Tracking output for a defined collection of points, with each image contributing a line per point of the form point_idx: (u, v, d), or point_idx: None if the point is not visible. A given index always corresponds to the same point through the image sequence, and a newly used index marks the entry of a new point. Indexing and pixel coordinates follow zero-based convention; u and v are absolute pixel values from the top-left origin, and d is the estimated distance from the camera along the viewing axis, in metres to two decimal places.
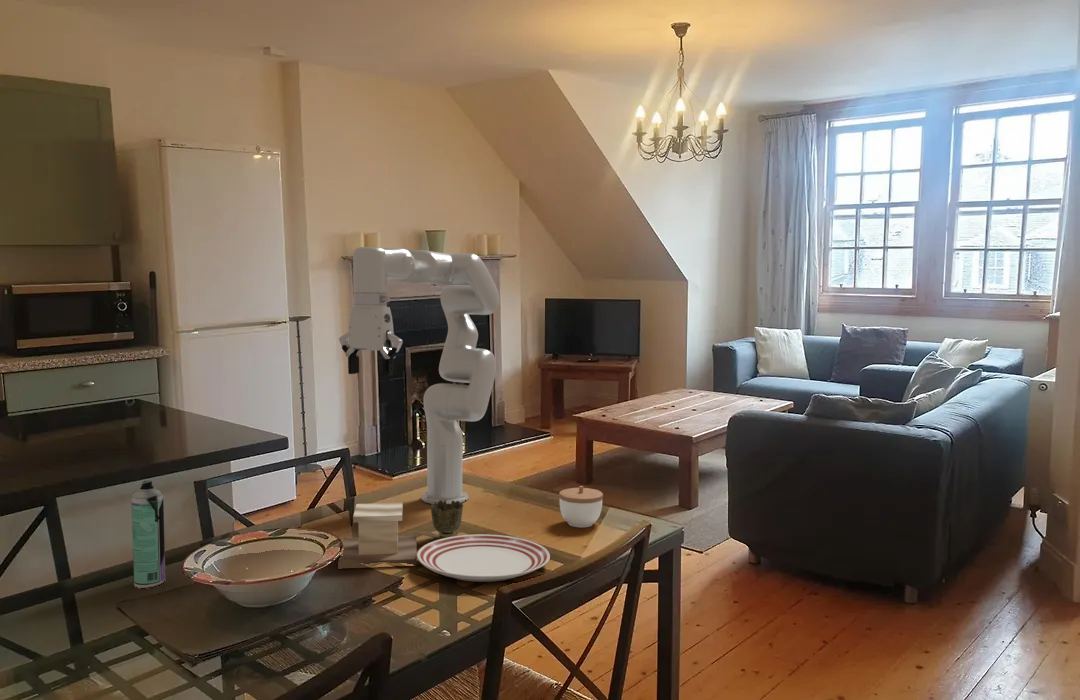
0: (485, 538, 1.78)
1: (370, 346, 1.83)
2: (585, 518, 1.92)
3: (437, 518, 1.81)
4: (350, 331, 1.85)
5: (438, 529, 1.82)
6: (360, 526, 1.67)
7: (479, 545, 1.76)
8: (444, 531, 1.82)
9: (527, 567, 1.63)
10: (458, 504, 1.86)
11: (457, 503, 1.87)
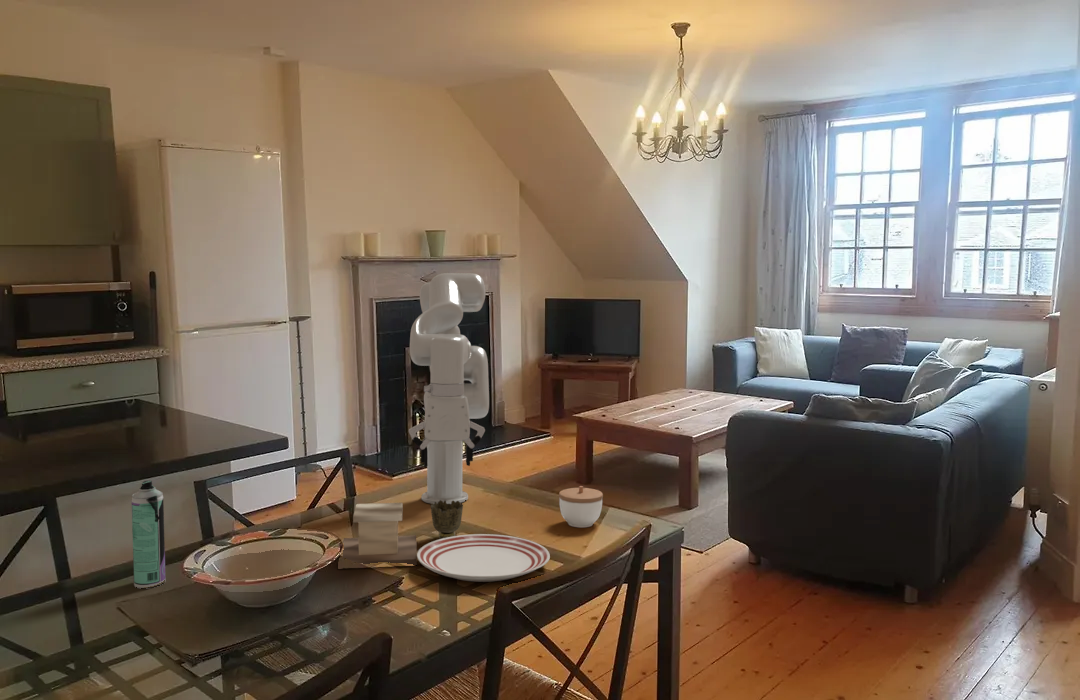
0: (485, 538, 1.78)
1: None
2: (585, 517, 1.92)
3: (437, 518, 1.81)
4: None
5: (438, 529, 1.82)
6: (360, 526, 1.67)
7: (479, 545, 1.76)
8: (444, 531, 1.82)
9: (527, 567, 1.63)
10: (458, 504, 1.86)
11: (457, 503, 1.87)
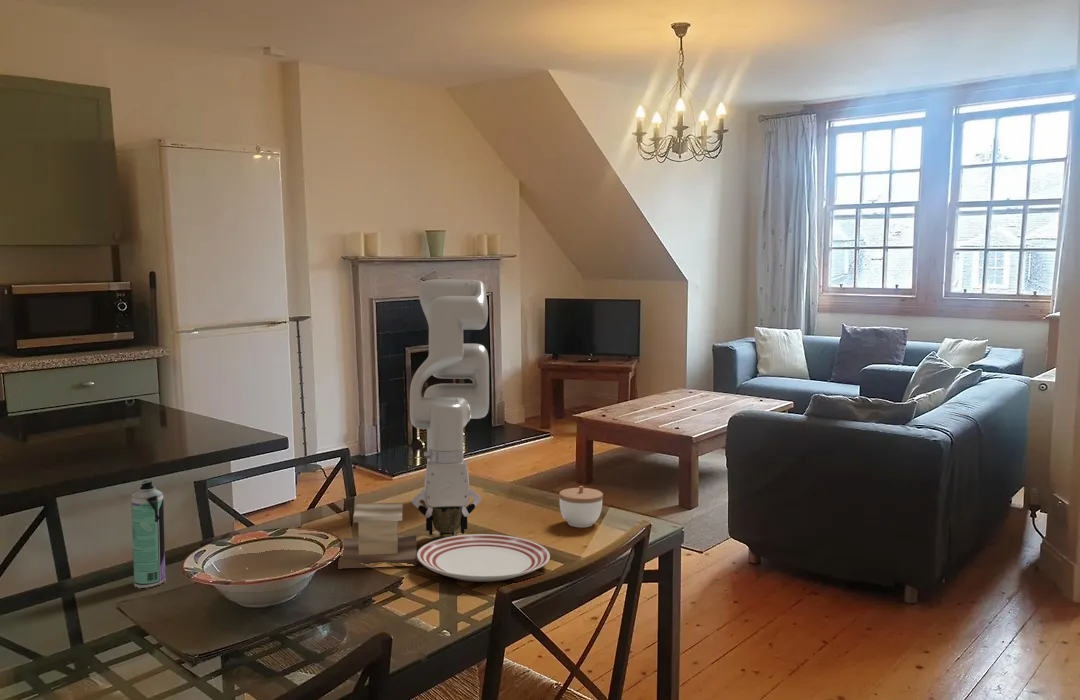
0: (485, 538, 1.78)
1: None
2: (585, 517, 1.92)
3: (437, 518, 1.81)
4: None
5: (438, 529, 1.82)
6: (360, 526, 1.67)
7: (479, 545, 1.76)
8: (444, 531, 1.82)
9: (527, 567, 1.63)
10: None
11: None
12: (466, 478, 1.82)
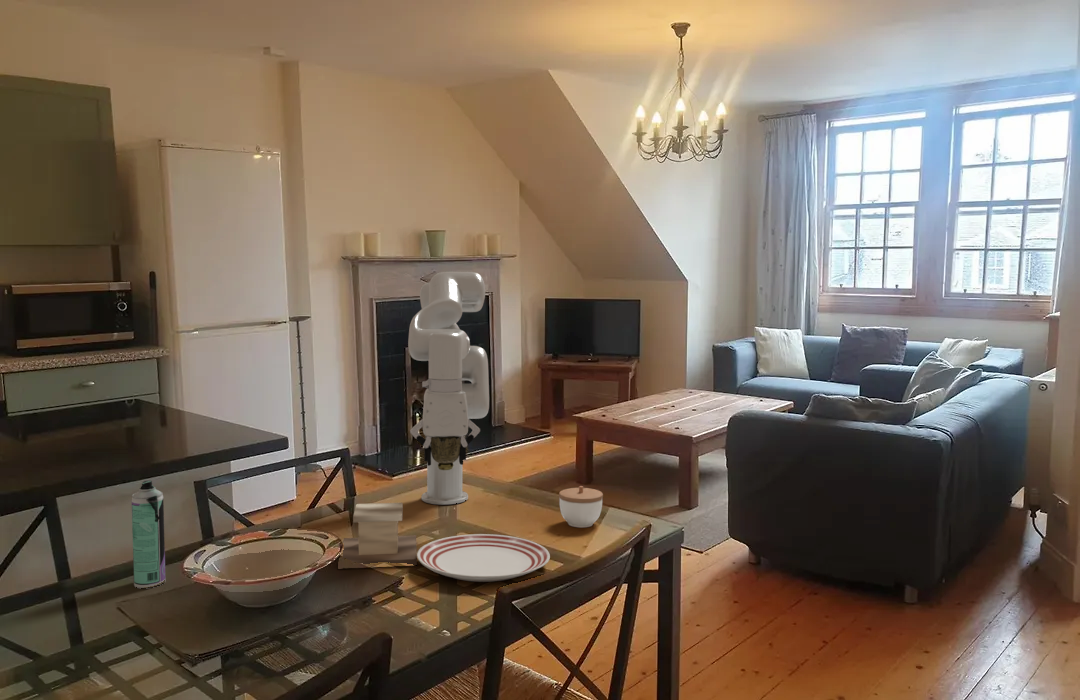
0: (484, 538, 1.78)
1: None
2: (585, 517, 1.92)
3: (436, 448, 1.80)
4: None
5: (437, 459, 1.80)
6: (360, 526, 1.67)
7: (479, 545, 1.76)
8: (443, 461, 1.80)
9: (527, 567, 1.63)
10: None
11: None
12: (465, 408, 1.80)
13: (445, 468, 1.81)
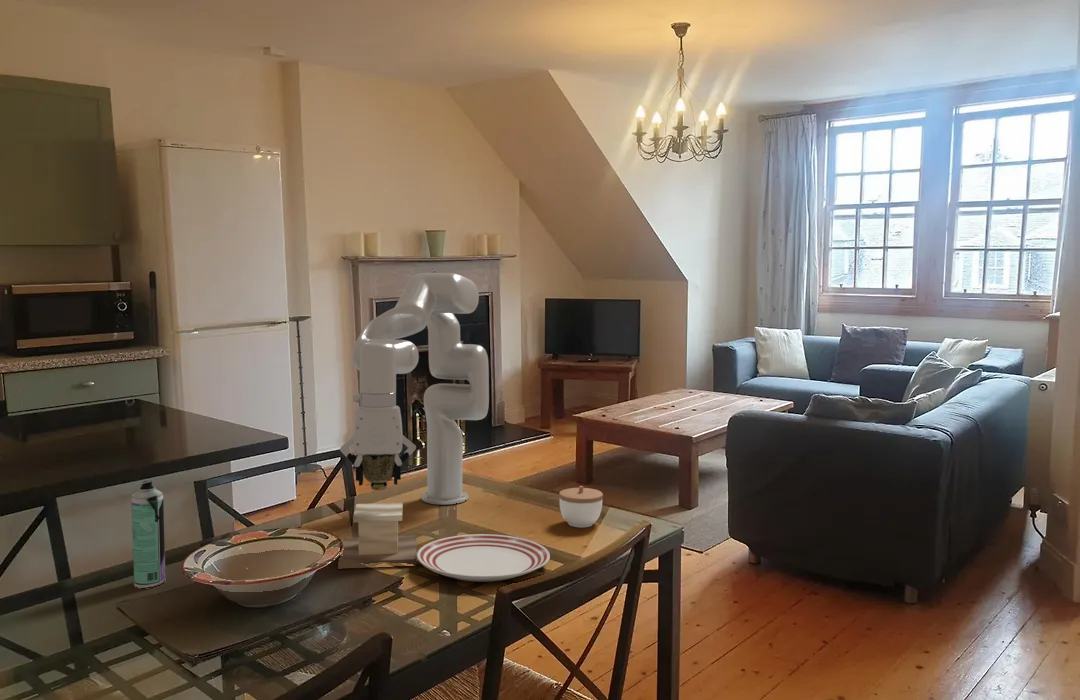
0: (484, 538, 1.78)
1: None
2: (585, 517, 1.92)
3: (367, 467, 1.68)
4: None
5: (368, 479, 1.69)
6: (360, 526, 1.67)
7: (479, 545, 1.76)
8: (375, 481, 1.68)
9: (527, 567, 1.63)
10: None
11: None
12: (398, 424, 1.68)
13: (378, 488, 1.69)
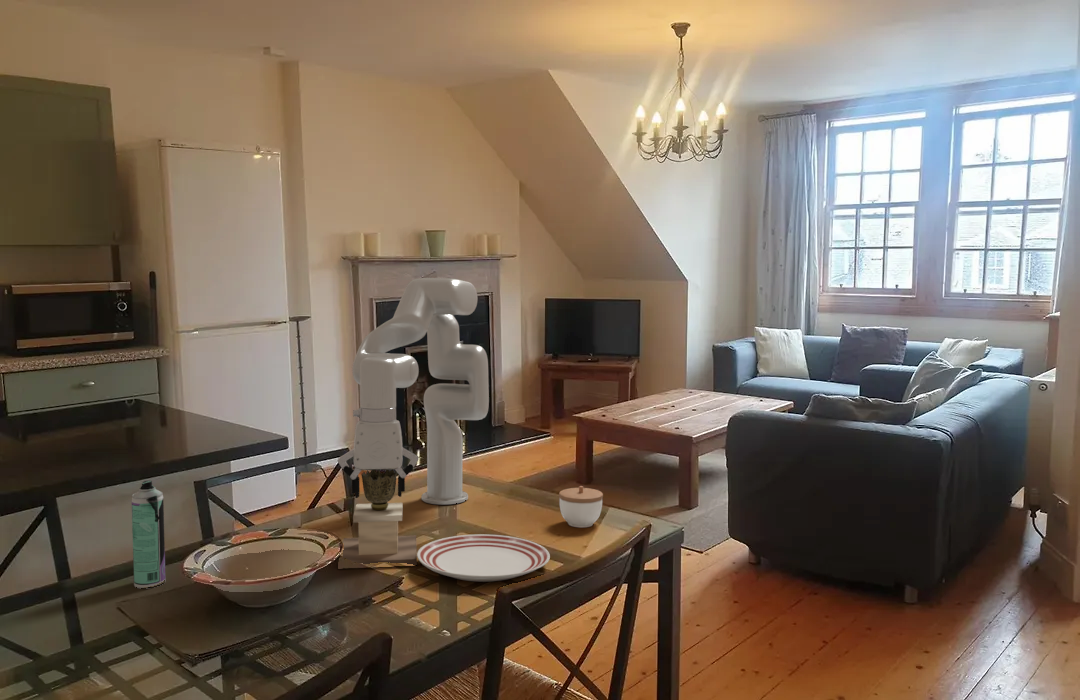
0: (484, 538, 1.78)
1: None
2: (585, 517, 1.92)
3: (368, 487, 1.68)
4: None
5: (369, 499, 1.69)
6: (360, 526, 1.67)
7: (479, 545, 1.76)
8: (376, 501, 1.69)
9: (527, 567, 1.63)
10: (392, 473, 1.74)
11: (391, 472, 1.74)
12: (398, 438, 1.69)
13: (378, 508, 1.70)
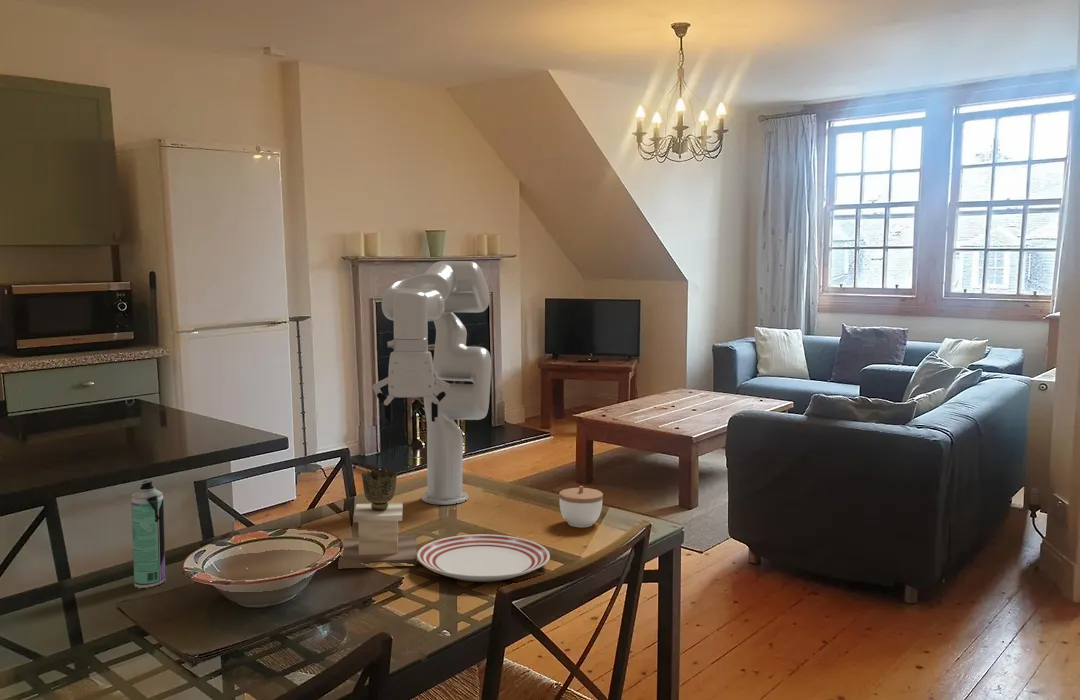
0: (484, 538, 1.78)
1: None
2: (585, 518, 1.92)
3: (368, 487, 1.68)
4: None
5: (369, 499, 1.69)
6: (360, 526, 1.67)
7: (479, 545, 1.76)
8: (376, 501, 1.69)
9: (527, 566, 1.63)
10: (392, 473, 1.74)
11: (391, 472, 1.74)
12: (430, 368, 1.79)
13: (378, 508, 1.70)
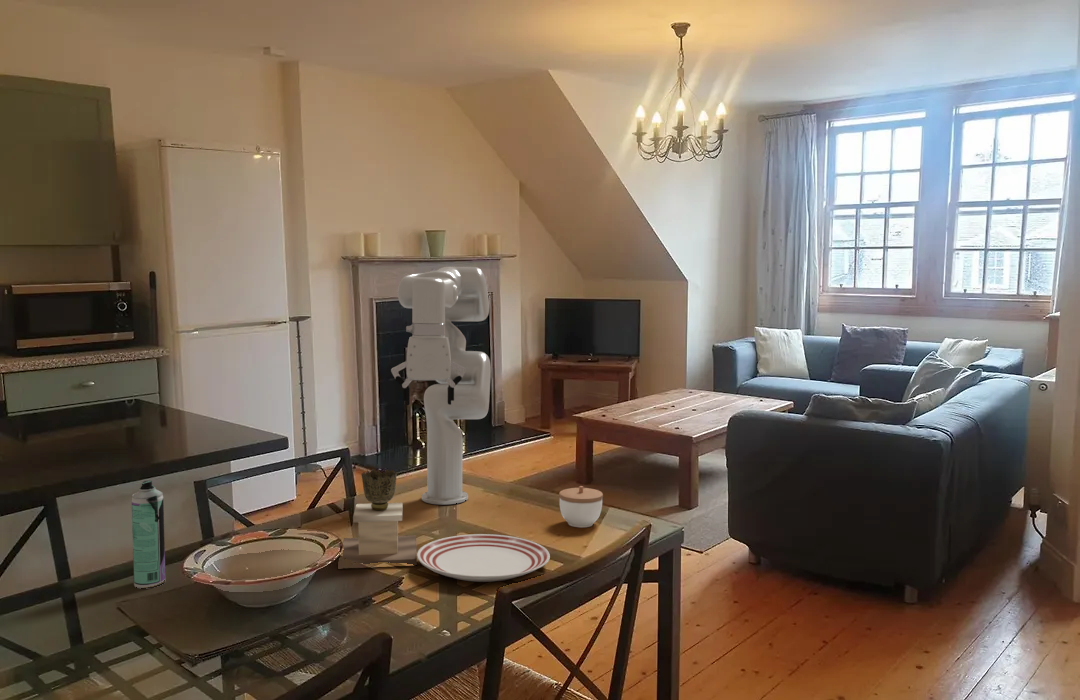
0: (484, 538, 1.78)
1: None
2: (585, 518, 1.92)
3: (368, 487, 1.68)
4: None
5: (369, 499, 1.69)
6: (360, 526, 1.67)
7: (478, 545, 1.76)
8: (376, 501, 1.69)
9: (527, 567, 1.63)
10: (392, 473, 1.74)
11: (391, 472, 1.74)
12: (448, 352, 1.85)
13: (378, 508, 1.70)
